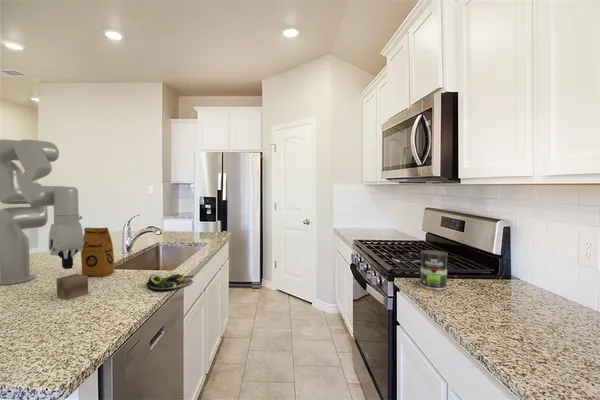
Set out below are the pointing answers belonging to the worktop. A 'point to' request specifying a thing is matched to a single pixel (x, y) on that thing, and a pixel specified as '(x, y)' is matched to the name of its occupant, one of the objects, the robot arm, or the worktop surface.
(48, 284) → the worktop surface
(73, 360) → the worktop surface
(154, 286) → the salad plate
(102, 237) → the coffee package
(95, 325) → the worktop surface
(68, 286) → the letter block
